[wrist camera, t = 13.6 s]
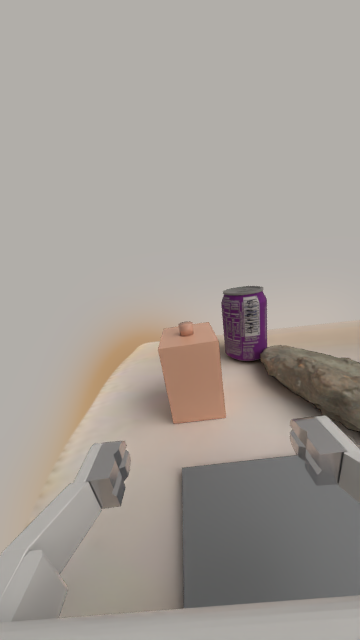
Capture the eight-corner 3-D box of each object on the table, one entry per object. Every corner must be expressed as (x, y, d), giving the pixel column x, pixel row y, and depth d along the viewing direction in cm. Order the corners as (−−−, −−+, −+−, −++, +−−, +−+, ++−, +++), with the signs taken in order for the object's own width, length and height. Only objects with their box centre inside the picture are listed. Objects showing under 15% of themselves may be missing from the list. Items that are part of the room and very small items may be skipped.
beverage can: (272, 349, 32) (272, 284, 28) (258, 369, 27) (256, 293, 23) (235, 342, 36) (232, 286, 33) (218, 358, 32) (212, 294, 28)
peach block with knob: (215, 383, 25) (207, 313, 22) (225, 417, 19) (217, 329, 16) (175, 388, 25) (161, 320, 22) (173, 423, 20) (155, 338, 17)
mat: (324, 457, 14) (325, 452, 14) (912, 1224, 3) (953, 1245, 3) (183, 472, 15) (182, 467, 15) (195, 1175, 3) (190, 1193, 3)
